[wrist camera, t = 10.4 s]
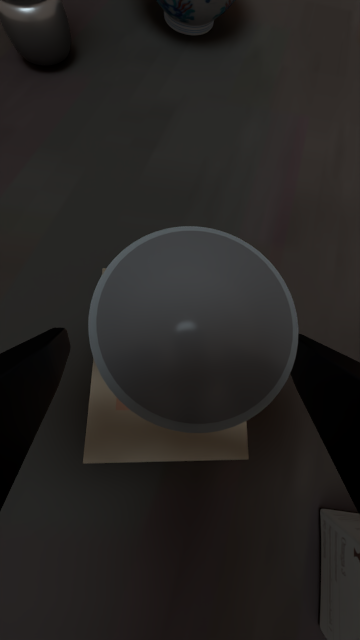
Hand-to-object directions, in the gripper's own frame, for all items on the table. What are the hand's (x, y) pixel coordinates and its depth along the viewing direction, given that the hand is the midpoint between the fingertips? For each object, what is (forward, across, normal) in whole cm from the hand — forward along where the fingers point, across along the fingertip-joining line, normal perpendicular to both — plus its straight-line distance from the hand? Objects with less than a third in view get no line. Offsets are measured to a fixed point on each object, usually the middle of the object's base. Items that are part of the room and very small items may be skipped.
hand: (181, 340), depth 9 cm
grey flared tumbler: (+6, 0, +6) cm, 9 cm away
